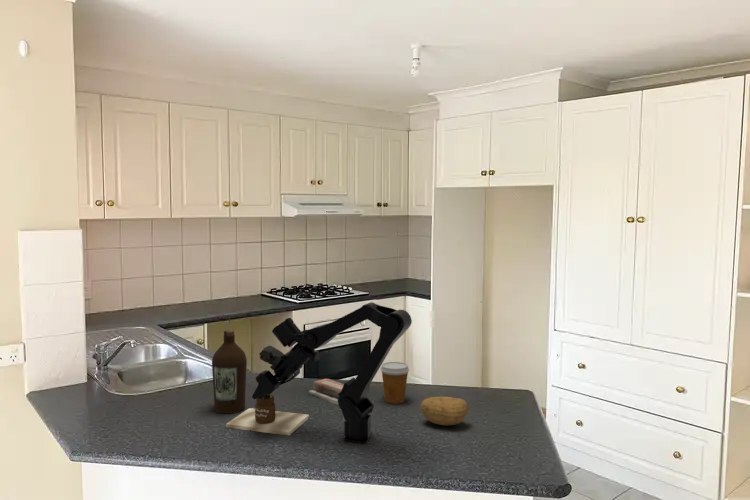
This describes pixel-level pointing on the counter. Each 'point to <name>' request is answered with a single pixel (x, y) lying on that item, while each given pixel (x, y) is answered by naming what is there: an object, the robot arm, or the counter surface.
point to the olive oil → (229, 376)
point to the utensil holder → (265, 409)
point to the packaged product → (327, 390)
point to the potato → (444, 410)
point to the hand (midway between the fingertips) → (260, 393)
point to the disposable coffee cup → (394, 381)
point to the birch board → (281, 425)
